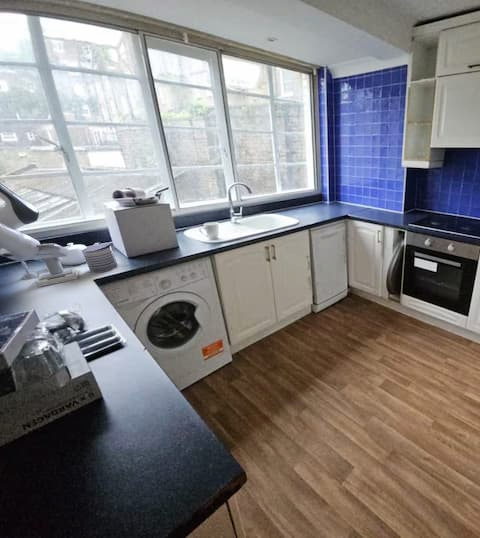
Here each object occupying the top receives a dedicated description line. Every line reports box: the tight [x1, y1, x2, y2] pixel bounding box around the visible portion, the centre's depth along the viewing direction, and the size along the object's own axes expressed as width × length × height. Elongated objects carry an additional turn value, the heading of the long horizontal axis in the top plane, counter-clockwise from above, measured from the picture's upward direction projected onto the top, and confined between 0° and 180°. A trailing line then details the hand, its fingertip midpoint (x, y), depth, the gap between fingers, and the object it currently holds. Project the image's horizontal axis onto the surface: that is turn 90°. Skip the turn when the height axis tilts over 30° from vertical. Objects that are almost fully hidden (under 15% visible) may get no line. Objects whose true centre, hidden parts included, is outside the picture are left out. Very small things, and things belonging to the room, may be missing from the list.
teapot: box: [59, 242, 101, 266], centre depth 158 cm, size 22×14×11 cm, turn 133°
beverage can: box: [43, 258, 64, 274], centre depth 137 cm, size 5×5×12 cm
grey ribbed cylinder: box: [81, 242, 119, 274], centre depth 148 cm, size 11×11×12 cm
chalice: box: [16, 260, 39, 280], centre depth 139 cm, size 7×7×18 cm
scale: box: [36, 266, 79, 288], centre depth 140 cm, size 13×12×3 cm
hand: (52, 259), depth 138 cm, fingers closed on beverage can, 5 cm apart
